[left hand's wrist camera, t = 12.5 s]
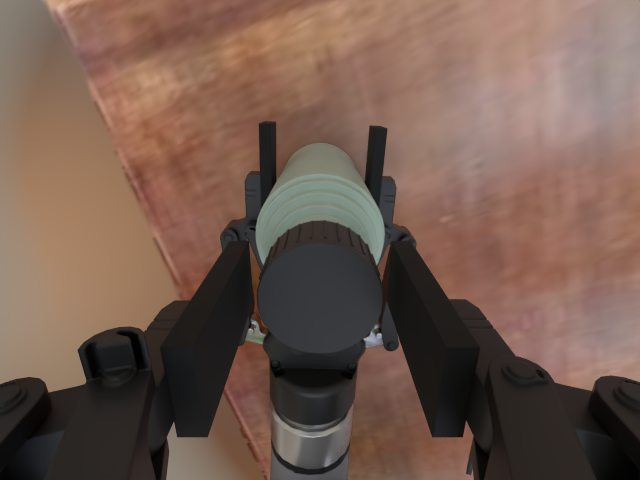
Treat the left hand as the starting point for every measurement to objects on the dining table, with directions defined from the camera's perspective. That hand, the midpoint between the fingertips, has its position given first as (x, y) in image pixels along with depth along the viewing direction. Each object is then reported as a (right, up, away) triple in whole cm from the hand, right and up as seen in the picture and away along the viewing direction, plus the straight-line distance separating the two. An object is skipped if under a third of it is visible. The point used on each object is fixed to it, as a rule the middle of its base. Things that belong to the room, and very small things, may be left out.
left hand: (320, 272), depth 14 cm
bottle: (0, +7, +17) cm, 18 cm away
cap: (0, -1, -2) cm, 2 cm away
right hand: (0, +9, +9) cm, 13 cm away
